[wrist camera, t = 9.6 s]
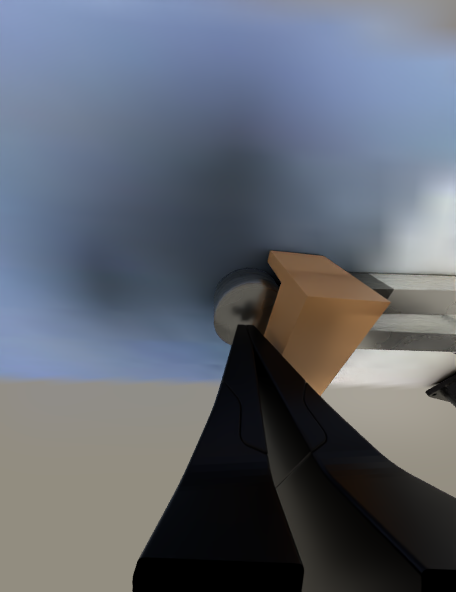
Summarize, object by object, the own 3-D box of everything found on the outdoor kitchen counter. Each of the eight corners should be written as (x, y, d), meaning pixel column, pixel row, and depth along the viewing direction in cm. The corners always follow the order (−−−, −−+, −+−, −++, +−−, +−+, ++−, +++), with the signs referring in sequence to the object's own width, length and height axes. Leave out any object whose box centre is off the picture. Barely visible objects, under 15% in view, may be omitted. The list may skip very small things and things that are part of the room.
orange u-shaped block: (247, 338, 13) (261, 402, 9) (270, 250, 9) (307, 296, 6) (287, 339, 13) (316, 401, 9) (323, 256, 10) (391, 301, 6)
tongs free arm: (286, 297, 11) (298, 316, 10) (295, 267, 10) (310, 283, 8) (493, 301, 12) (531, 317, 11) (520, 275, 11) (567, 290, 10)
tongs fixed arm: (211, 323, 12) (210, 349, 10) (216, 265, 10) (218, 285, 8) (451, 334, 15) (485, 356, 13) (499, 290, 12) (550, 310, 10)
